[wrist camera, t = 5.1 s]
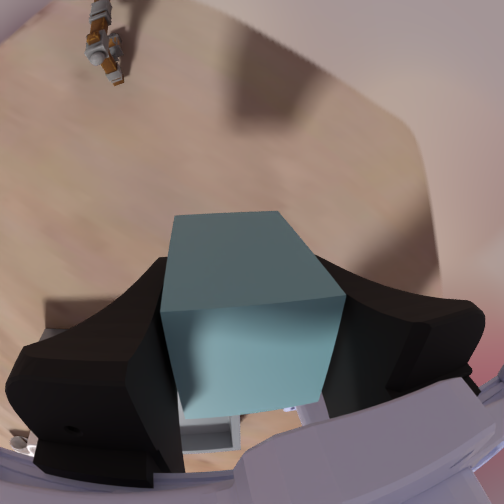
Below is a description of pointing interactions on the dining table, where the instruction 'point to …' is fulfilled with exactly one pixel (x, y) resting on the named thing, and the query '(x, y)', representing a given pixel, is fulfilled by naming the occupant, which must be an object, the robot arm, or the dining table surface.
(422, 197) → the dining table surface
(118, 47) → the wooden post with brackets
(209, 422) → the tray
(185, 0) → the dining table surface
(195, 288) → the block
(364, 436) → the robot arm
